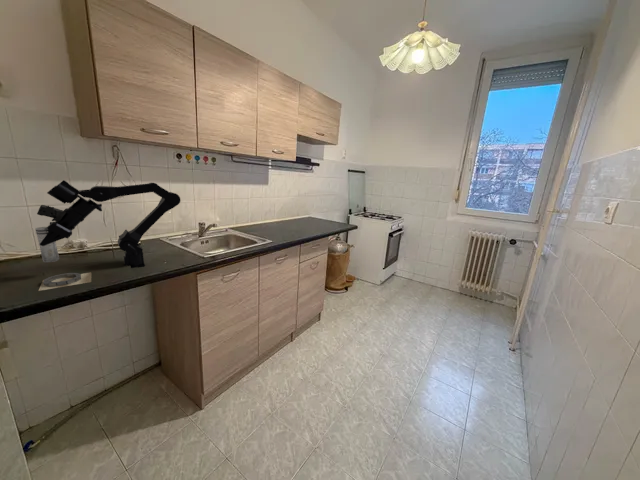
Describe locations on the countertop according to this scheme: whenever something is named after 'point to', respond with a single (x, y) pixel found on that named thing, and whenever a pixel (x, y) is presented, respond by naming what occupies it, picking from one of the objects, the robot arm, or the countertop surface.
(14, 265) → the countertop surface
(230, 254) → the countertop surface
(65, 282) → the ring
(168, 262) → the countertop surface
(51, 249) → the clear glass jar
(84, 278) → the board
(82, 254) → the countertop surface
